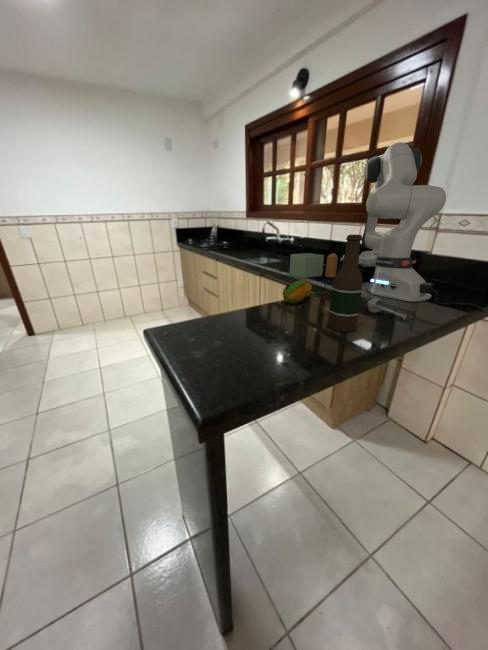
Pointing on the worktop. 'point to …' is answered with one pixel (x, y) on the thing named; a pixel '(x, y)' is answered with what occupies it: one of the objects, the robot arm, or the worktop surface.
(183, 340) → the worktop surface
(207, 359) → the worktop surface
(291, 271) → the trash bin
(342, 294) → the beer bottle
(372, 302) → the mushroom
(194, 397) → the worktop surface
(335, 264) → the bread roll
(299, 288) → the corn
